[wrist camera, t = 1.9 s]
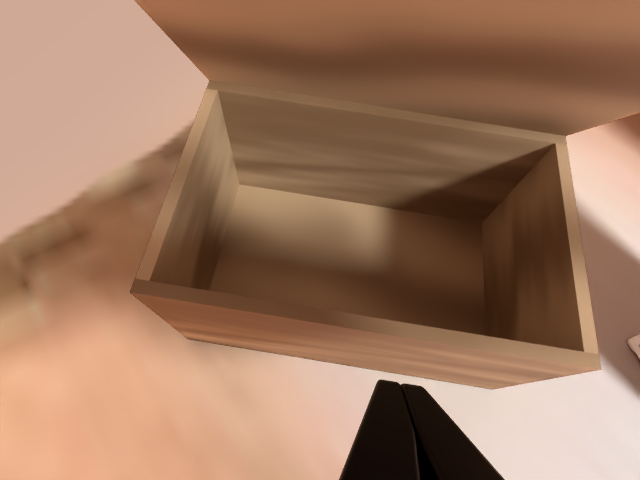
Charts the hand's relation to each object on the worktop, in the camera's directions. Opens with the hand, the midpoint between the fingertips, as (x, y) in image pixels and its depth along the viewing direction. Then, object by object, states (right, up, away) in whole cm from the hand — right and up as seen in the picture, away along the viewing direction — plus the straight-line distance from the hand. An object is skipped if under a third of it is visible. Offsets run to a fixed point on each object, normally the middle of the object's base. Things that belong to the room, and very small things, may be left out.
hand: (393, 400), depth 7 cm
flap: (+1, +9, +5) cm, 10 cm away
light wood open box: (0, +1, +15) cm, 15 cm away
